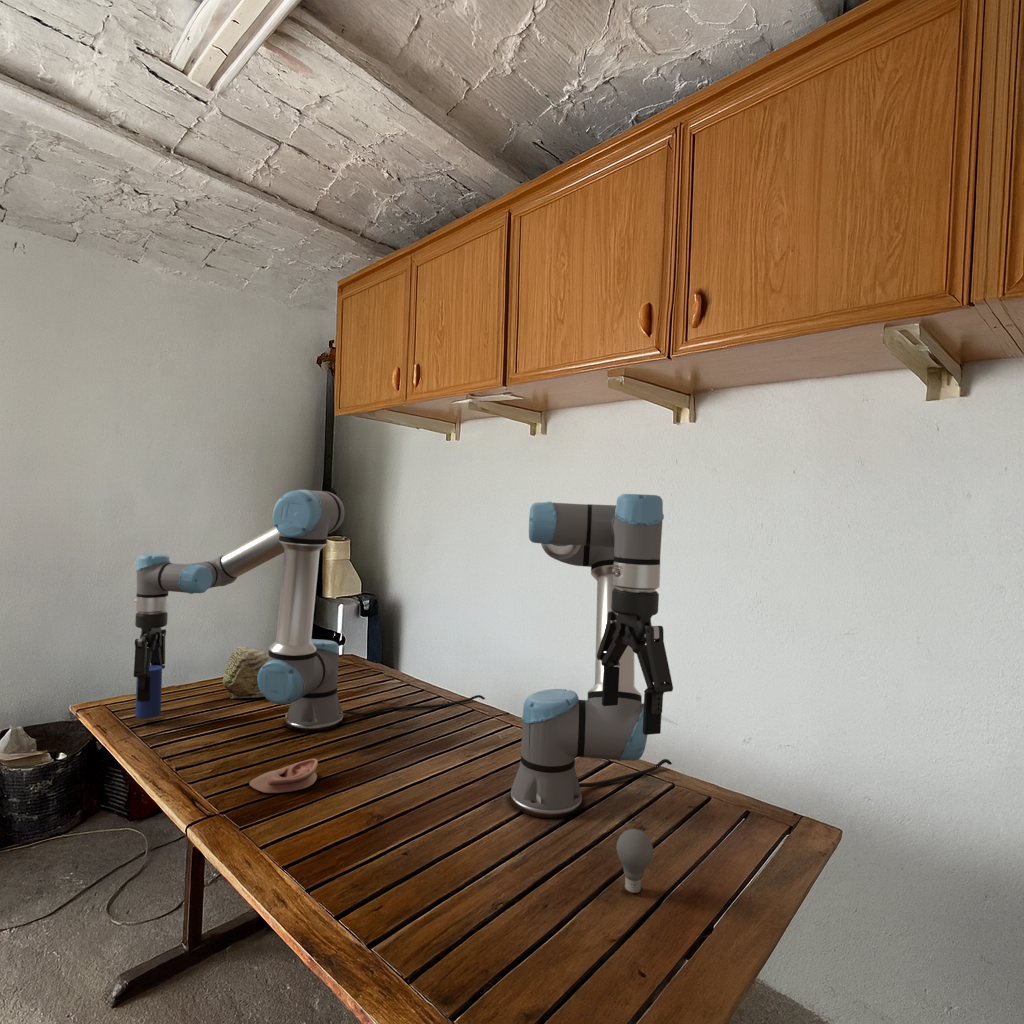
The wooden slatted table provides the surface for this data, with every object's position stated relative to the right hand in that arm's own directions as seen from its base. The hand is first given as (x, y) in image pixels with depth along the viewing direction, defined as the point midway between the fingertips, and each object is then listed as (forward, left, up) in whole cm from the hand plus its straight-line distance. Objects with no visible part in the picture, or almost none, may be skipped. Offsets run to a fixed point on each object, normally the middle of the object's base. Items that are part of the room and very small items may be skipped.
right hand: (629, 718), depth 103 cm
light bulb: (-3, -1, -30) cm, 30 cm away
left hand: (+88, -102, -23) cm, 136 cm away
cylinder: (+88, -102, -28) cm, 137 cm away
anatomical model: (+53, -56, -30) cm, 82 cm away
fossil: (+63, -121, -30) cm, 139 cm away
